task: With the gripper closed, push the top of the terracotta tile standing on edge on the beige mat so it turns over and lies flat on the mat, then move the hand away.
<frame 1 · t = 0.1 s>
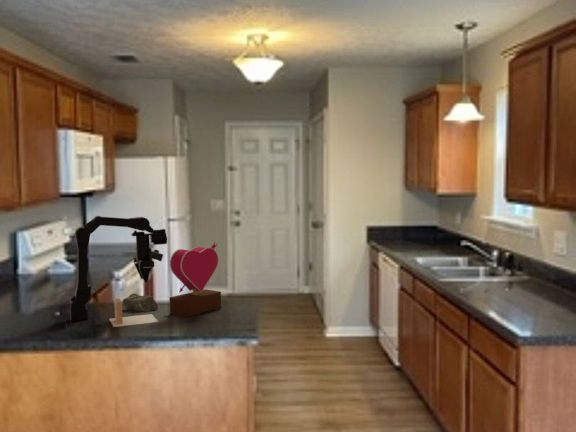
hand: (144, 280, 267), 15 cm above the worktop, tool pointing down, fingers open, 9 cm apart
heart arrow ornament: (198, 311, 271), on the worktop
beige mat: (133, 321, 254), on the worktop
terracotta tile: (118, 321, 251), resting on beige mat
rock: (140, 311, 274), on the worktop
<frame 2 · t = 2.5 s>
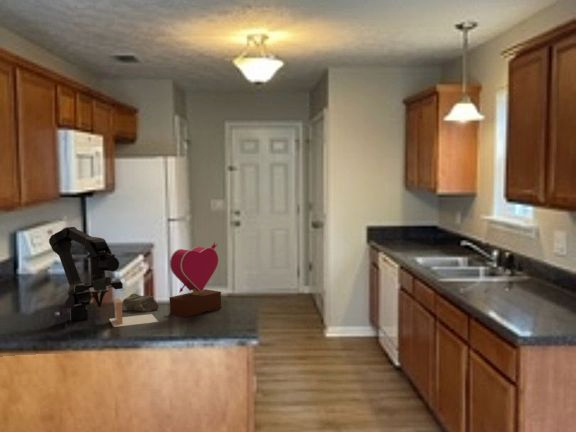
hand: (99, 307, 248), 8 cm above the worktop, tool pointing down, fingers closed
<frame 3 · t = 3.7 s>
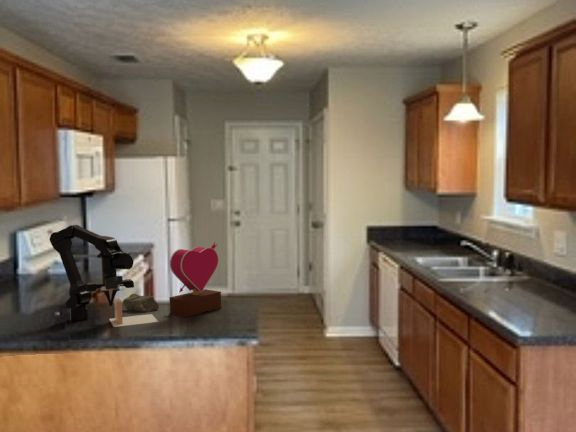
hand: (110, 305, 250), 8 cm above the worktop, tool pointing down, fingers closed
nothing on the worktop moved.
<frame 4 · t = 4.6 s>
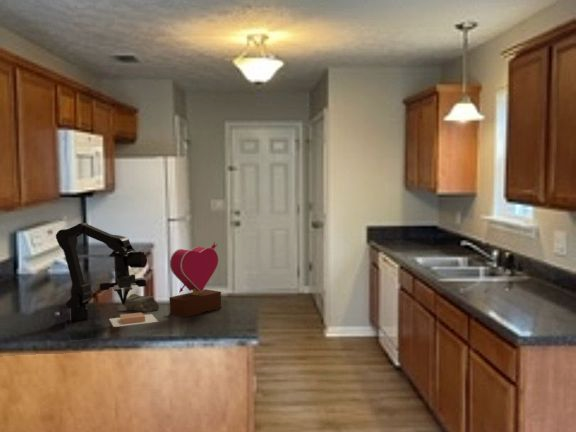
hand: (123, 304, 252), 8 cm above the worktop, tool pointing down, fingers closed
terracotta tile: (121, 319, 252), point 1 cm above the worktop, tilted 90°, touching beige mat
everything else where it was.
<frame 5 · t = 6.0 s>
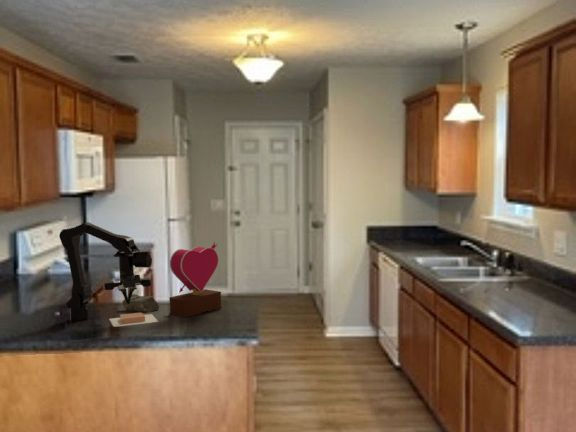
hand: (127, 304, 253), 7 cm above the worktop, tool pointing down, fingers closed
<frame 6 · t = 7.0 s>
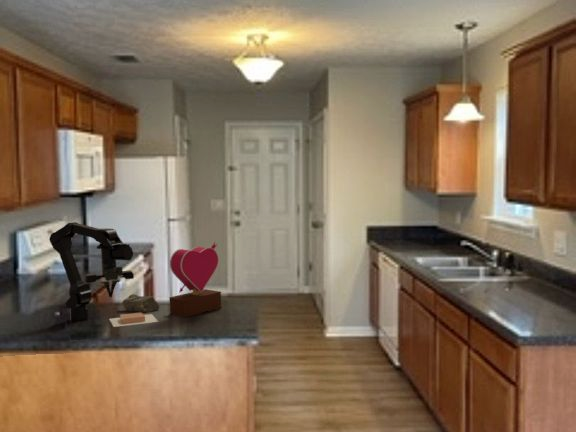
hand: (110, 297, 249), 11 cm above the worktop, tool pointing down, fingers closed
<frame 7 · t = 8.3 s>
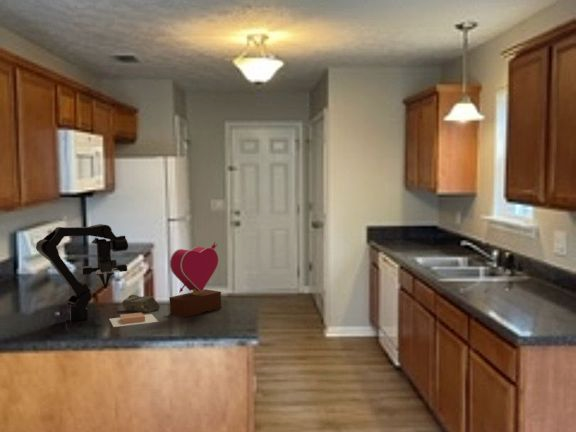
hand: (105, 288, 265), 12 cm above the worktop, tool pointing down, fingers closed
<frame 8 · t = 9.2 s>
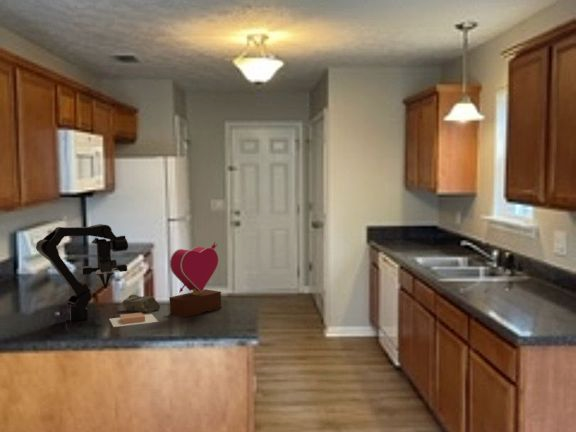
hand: (105, 288, 265), 12 cm above the worktop, tool pointing down, fingers closed
at the end: terracotta tile tilted 90°; terracotta tile inside the target area (0.4 cm from its centre), point 1.5 cm above the worktop; terracotta tile touching beige mat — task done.
